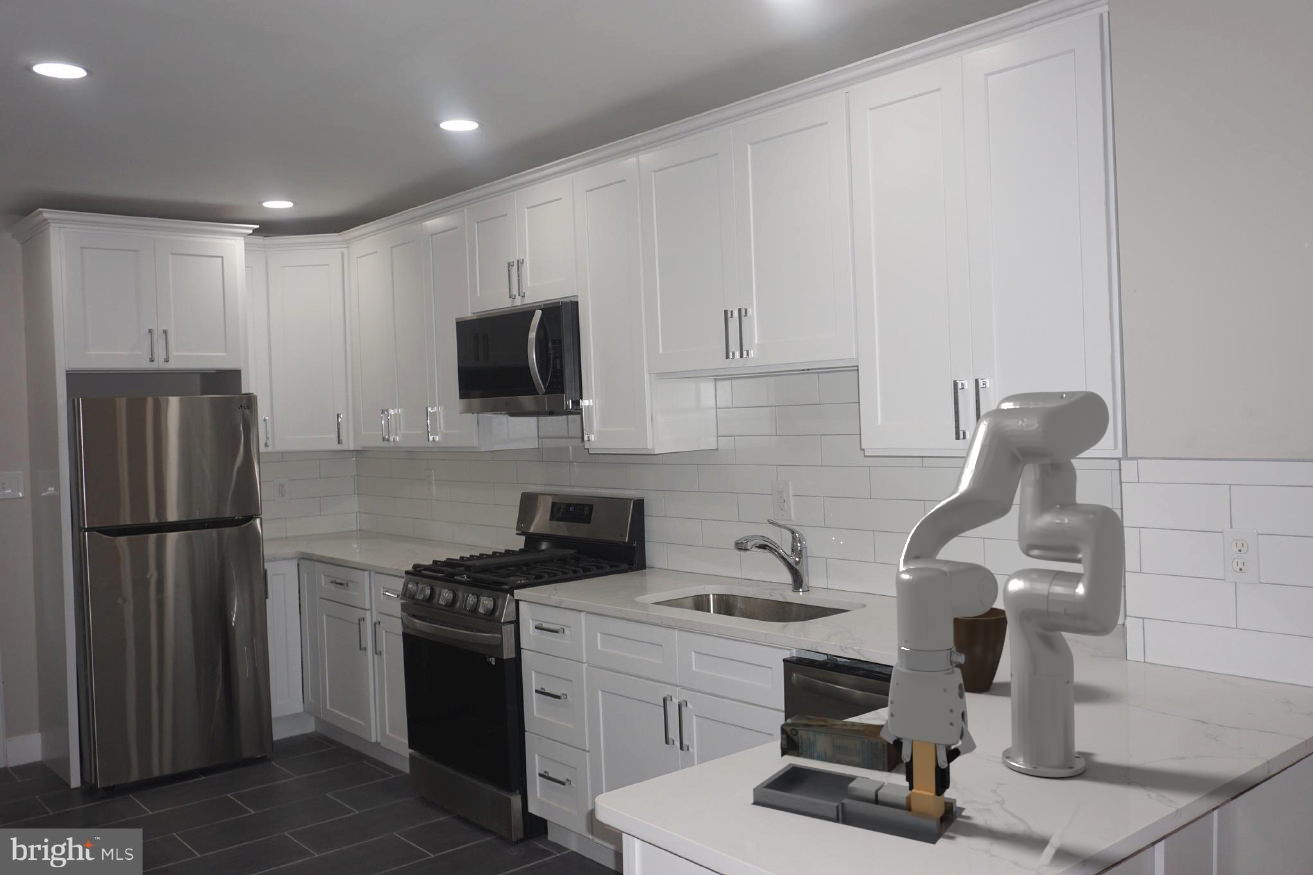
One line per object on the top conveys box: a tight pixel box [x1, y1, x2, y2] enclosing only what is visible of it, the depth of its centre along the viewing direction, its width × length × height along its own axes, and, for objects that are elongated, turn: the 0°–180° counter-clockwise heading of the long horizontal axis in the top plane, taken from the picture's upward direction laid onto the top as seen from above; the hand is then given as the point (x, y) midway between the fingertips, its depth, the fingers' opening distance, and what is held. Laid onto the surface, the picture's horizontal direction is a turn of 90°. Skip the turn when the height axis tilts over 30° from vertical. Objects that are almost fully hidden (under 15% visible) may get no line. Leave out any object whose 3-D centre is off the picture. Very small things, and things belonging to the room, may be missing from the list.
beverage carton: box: [779, 714, 905, 773], centre depth 165 cm, size 8×19×7 cm, turn 59°
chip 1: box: [848, 776, 886, 805], centre depth 143 cm, size 4×4×4 cm
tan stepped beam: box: [911, 741, 945, 818], centre depth 138 cm, size 5×3×12 cm, turn 147°
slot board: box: [751, 762, 966, 845], centre depth 143 cm, size 14×27×3 cm, turn 57°
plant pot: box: [953, 606, 1008, 693], centre depth 207 cm, size 15×15×16 cm
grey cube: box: [878, 782, 912, 812], centre depth 140 cm, size 4×4×4 cm
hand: (927, 789), depth 138 cm, fingers closed on tan stepped beam, 3 cm apart
